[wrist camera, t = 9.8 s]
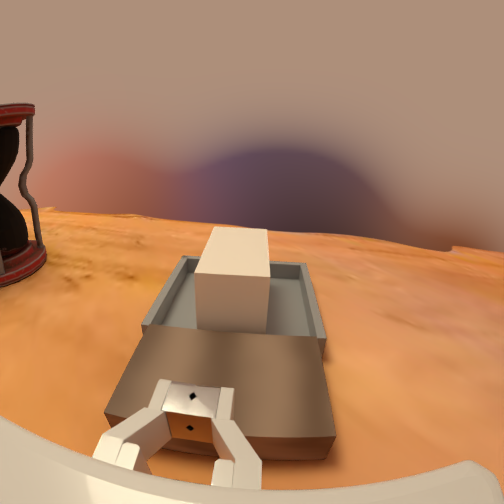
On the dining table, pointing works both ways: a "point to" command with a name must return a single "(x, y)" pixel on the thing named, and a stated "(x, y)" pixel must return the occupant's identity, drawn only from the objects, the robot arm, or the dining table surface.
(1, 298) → the dining table surface
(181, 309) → the gray tray
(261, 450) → the brown flat block
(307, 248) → the dining table surface
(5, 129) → the hourglass
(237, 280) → the cream block
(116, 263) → the dining table surface
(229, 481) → the robot arm
